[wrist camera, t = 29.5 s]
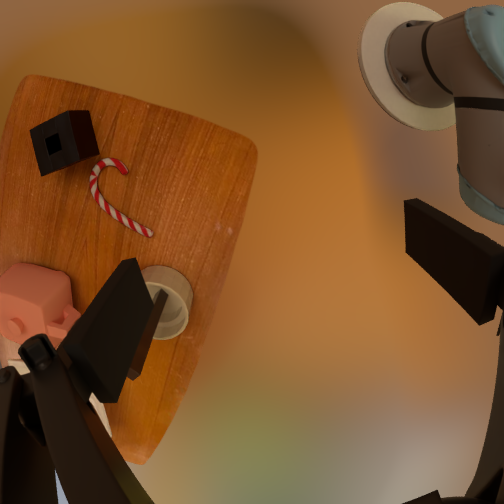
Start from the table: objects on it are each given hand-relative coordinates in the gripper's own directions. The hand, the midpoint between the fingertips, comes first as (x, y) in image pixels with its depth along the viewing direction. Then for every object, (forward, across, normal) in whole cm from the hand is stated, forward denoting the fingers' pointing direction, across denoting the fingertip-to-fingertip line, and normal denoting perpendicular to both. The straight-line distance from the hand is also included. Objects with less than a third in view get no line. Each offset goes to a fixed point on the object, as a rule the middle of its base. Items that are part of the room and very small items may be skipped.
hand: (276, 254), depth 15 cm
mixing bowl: (+35, -20, -18) cm, 44 cm away
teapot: (+35, -45, -13) cm, 58 cm away
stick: (+34, -20, -18) cm, 44 cm away
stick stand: (+35, -27, +11) cm, 45 cm away
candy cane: (+35, -21, -1) cm, 41 cm away
